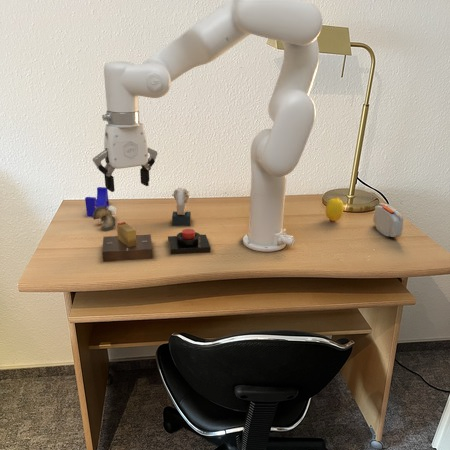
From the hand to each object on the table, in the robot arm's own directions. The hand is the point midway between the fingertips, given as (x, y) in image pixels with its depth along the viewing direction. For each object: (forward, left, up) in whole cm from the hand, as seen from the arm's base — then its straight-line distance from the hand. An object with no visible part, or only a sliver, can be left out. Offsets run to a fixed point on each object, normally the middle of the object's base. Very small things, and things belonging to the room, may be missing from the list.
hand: (128, 187), depth 127 cm
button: (-12, -10, -15) cm, 21 cm away
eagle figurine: (+19, -10, -18) cm, 28 cm away
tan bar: (0, +2, -15) cm, 15 cm away
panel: (0, +2, -18) cm, 18 cm away
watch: (0, -24, -18) cm, 30 cm away
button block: (-12, -10, -18) cm, 24 cm away
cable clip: (+29, -19, -18) cm, 39 cm away
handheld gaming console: (-57, -51, -18) cm, 79 cm away
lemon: (-40, -52, -18) cm, 68 cm away
